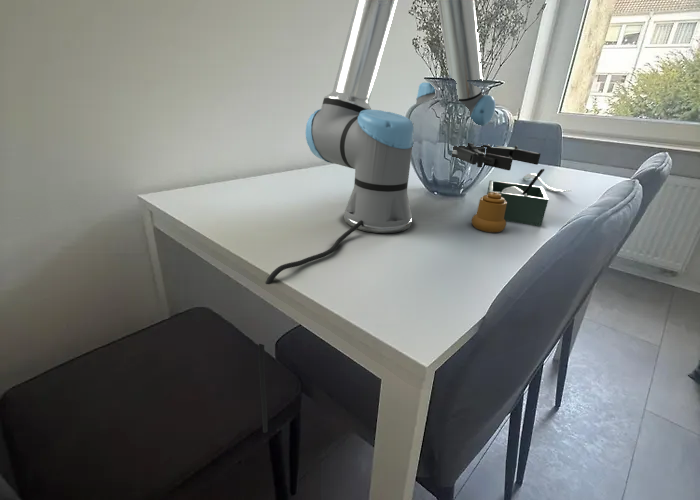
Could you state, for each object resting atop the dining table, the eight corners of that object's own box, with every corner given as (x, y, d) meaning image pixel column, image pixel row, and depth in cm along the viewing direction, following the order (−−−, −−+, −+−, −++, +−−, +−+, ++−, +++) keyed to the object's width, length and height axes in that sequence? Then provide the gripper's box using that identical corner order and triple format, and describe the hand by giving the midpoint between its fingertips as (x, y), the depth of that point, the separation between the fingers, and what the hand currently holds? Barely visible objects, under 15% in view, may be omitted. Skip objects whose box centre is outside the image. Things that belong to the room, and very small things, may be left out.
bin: (541, 226, 92) (548, 199, 89) (483, 217, 96) (489, 191, 93) (536, 211, 102) (543, 187, 100) (484, 203, 106) (489, 180, 103)
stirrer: (578, 183, 117) (565, 184, 115) (575, 195, 118) (563, 195, 117) (532, 171, 135) (520, 172, 133) (529, 182, 136) (518, 182, 135)
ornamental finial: (500, 236, 85) (466, 228, 88) (507, 226, 90) (475, 219, 94) (509, 201, 81) (473, 194, 85) (515, 193, 87) (482, 187, 91)
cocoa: (488, 207, 101) (498, 161, 96) (506, 205, 104) (517, 160, 99) (515, 219, 94) (527, 170, 89) (534, 217, 96) (547, 169, 91)
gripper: (475, 156, 116) (545, 171, 102) (420, 164, 101) (493, 183, 87) (479, 130, 113) (552, 142, 99) (424, 134, 98) (501, 149, 84)
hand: (525, 161), depth 93 cm, fingers open, 13 cm apart
